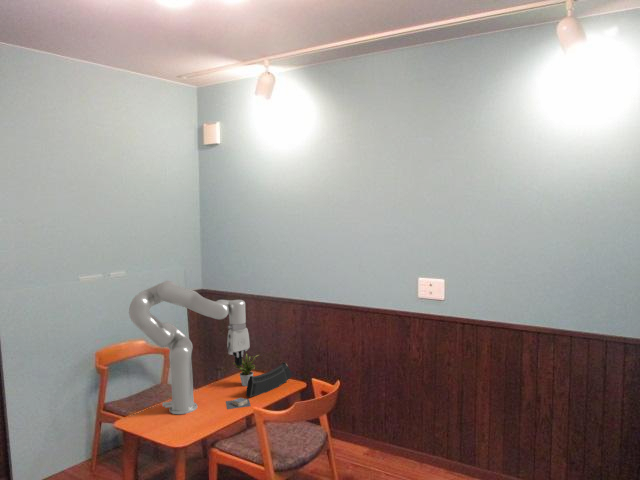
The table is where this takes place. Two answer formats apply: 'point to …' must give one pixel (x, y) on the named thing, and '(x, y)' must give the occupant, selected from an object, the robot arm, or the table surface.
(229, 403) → the mat
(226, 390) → the table surface
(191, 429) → the table surface
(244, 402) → the tile
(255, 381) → the magazine
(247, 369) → the house plant
